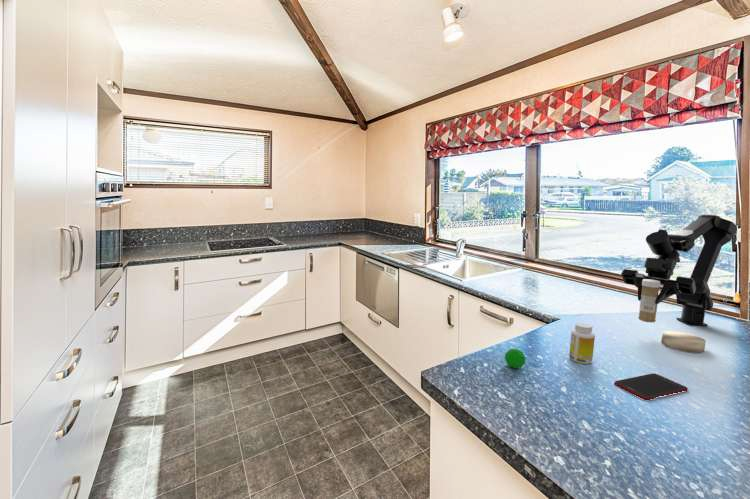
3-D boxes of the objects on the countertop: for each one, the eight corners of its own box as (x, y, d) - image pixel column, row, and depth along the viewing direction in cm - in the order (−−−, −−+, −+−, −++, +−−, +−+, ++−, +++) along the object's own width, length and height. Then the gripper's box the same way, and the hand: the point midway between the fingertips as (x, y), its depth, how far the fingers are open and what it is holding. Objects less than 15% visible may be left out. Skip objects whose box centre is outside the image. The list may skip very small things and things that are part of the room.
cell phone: (689, 392, 81) (690, 388, 81) (645, 402, 77) (646, 398, 77) (654, 376, 89) (654, 372, 89) (612, 385, 84) (612, 381, 84)
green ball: (511, 372, 89) (512, 354, 88) (500, 363, 94) (501, 346, 93) (528, 370, 90) (530, 353, 89) (517, 362, 95) (518, 345, 94)
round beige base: (654, 338, 112) (655, 329, 112) (689, 341, 111) (690, 332, 110) (674, 351, 103) (675, 341, 102) (713, 354, 101) (714, 344, 100)
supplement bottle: (596, 362, 95) (600, 326, 94) (583, 366, 93) (587, 329, 91) (577, 354, 100) (580, 320, 99) (564, 357, 98) (567, 323, 96)
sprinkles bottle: (657, 321, 112) (663, 280, 110) (652, 323, 110) (657, 282, 108) (641, 317, 116) (645, 277, 114) (635, 319, 114) (640, 279, 112)
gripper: (626, 245, 119) (608, 280, 115) (698, 252, 104) (681, 293, 99) (633, 265, 125) (616, 300, 120) (702, 274, 110) (686, 315, 105)
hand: (647, 301), depth 111 cm, fingers closed on sprinkles bottle, 4 cm apart
